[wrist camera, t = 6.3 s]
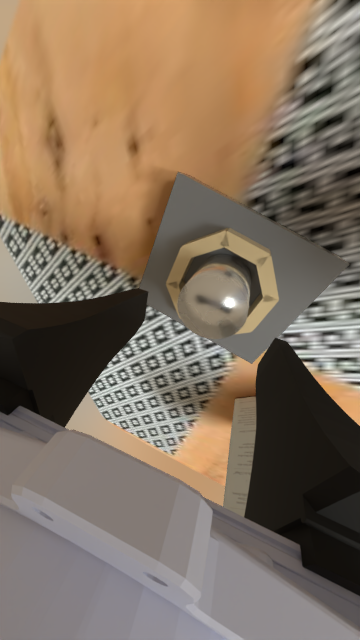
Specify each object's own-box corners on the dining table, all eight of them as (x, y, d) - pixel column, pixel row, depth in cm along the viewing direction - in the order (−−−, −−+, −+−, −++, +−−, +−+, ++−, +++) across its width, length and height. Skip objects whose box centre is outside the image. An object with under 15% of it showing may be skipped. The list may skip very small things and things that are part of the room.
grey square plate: (337, 255, 16) (358, 270, 12) (252, 348, 22) (251, 374, 19) (188, 174, 16) (170, 169, 13) (146, 288, 22) (127, 304, 19)
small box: (252, 429, 29) (248, 568, 18) (233, 397, 27) (217, 531, 16) (319, 427, 25) (366, 603, 14) (304, 389, 23) (345, 560, 12)
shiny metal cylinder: (260, 262, 15) (260, 288, 11) (240, 312, 18) (234, 347, 14) (203, 247, 16) (183, 266, 12) (191, 297, 18) (172, 326, 14)
